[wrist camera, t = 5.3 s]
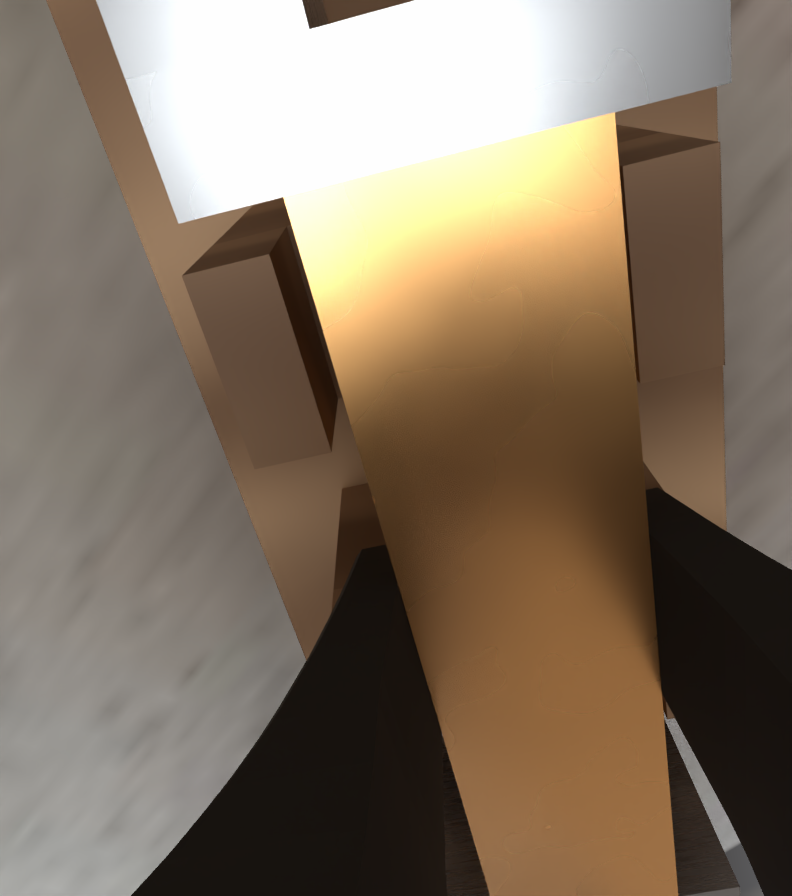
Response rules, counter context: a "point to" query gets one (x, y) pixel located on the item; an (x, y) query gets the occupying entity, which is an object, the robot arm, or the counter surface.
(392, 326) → the spanner
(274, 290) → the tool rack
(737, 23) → the counter surface
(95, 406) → the counter surface
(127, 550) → the counter surface
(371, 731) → the robot arm
